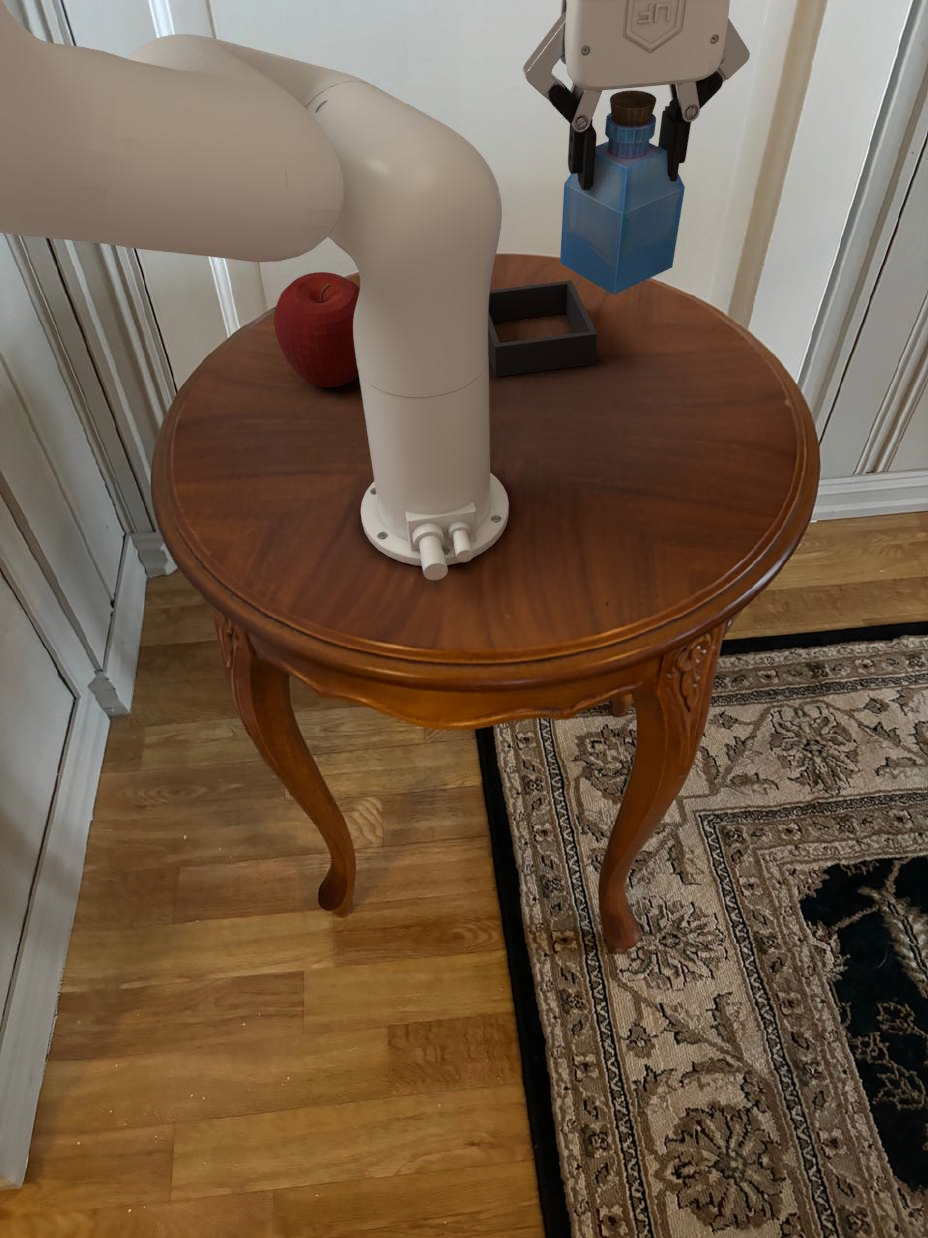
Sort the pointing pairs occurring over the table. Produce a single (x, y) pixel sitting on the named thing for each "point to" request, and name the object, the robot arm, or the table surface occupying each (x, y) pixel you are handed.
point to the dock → (547, 349)
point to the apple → (319, 328)
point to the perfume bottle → (623, 203)
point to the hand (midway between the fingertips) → (624, 174)
